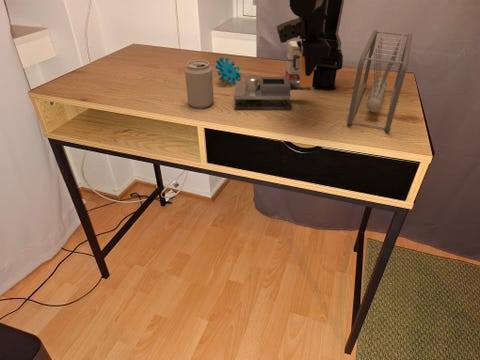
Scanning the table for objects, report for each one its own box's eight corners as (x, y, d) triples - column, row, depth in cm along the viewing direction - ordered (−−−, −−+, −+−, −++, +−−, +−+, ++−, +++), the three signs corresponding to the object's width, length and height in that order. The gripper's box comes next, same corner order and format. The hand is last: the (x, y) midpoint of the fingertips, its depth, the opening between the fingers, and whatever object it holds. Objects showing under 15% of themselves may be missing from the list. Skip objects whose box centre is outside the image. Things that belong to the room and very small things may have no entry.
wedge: (312, 84, 95) (316, 50, 89) (313, 87, 93) (318, 52, 88) (297, 84, 95) (300, 49, 89) (298, 87, 93) (301, 52, 88)
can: (203, 111, 100) (200, 69, 93) (182, 105, 103) (178, 64, 96) (218, 102, 105) (217, 61, 98) (198, 96, 108) (195, 56, 101)
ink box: (288, 82, 117) (291, 45, 110) (284, 77, 121) (287, 41, 114) (314, 81, 118) (318, 44, 111) (309, 75, 122) (313, 40, 115)
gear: (228, 85, 111) (212, 57, 111) (217, 95, 115) (202, 68, 115) (249, 79, 119) (234, 53, 119) (238, 89, 123) (224, 63, 123)
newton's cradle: (362, 86, 115) (374, 27, 104) (396, 91, 111) (413, 31, 101) (345, 127, 92) (359, 58, 82) (388, 135, 89) (408, 64, 79)
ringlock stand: (305, 93, 110) (308, 70, 106) (311, 110, 100) (314, 86, 96) (236, 92, 110) (235, 70, 106) (234, 109, 101) (234, 86, 97)
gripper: (277, 0, 90) (273, 62, 100) (282, 17, 75) (278, 88, 85) (321, 0, 90) (313, 62, 99) (335, 17, 75) (325, 88, 85)
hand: (307, 74), depth 92 cm, fingers closed on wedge, 2 cm apart
